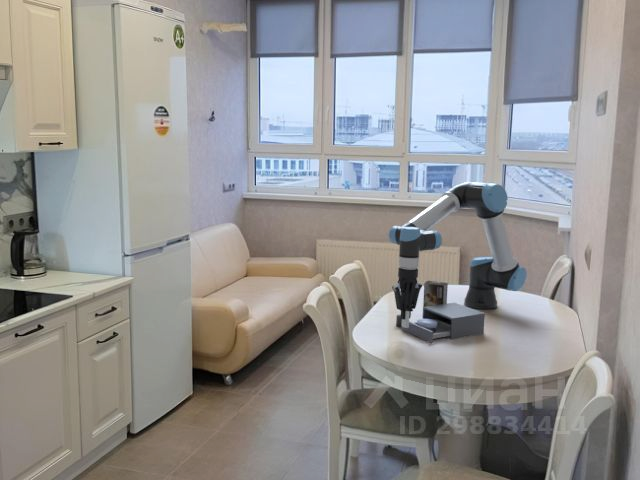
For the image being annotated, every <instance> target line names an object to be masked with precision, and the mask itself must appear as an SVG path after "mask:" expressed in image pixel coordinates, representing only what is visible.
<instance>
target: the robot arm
mask: <svg viewBox="0 0 640 480" xmlns="http://www.w3.org/2000/svg"><path fill="white" fill-rule="evenodd" d="M507 204H508V192H507V190H506V189H505V188H504V187H503V186H502V185H501V184H498V183H494V182H480V181H478V182H477V181H465V182H461V183H459V184H457V185H455V186H452V187H451V188H449V189H448V190H446V191H445V192H444V193H442V195H441V198H439V199H438V200H437V201H435V202H433V203H432V204H431V205H429V206H428V207H426V208H425V209H423V211H421V212H419V213H418V214H417V215H415V216H414V217H412V218H411V219H409V220H408V221H407V222H406V223H404V224H403V225H394V226H392V227H391V228H390V229H389V232H388V239H389V241H390V242H391V243H392V244H395V245H398V246H399V251H398V253H399V254H398V266H399V267H398V269H397V270H398V271H397V278H398V281H397V284H396V285H392V290H393V292H394V299H395V300H394V301H395V306H396V309H397V310H399V311H400V315H401V319H402V325H401V326H402V327H404V328H409V321H410V319H411V317H412V314H411V313H412V312H414V310H415V309H416V307H417V304H418V300H419V295H420V291H421V289H422V288H423V285H422V284H421V283H419V282H418V277H419V269H418V268H419V266H420V265H419V264H420V262H419V261H420V252H425V251H434V250H436V249H439V248H440V247H441V246H442V245H443V244H442V243H443V237H442V235H441V233H440V232H439V231H438V230H431V229H430V228H432V227H434V226H435V225H436V224H437V223H439V222H440V221H441V220H443V219H444V218H445V217H447V216H448V215H450V214H451V213H456V212H458V211H460V210H461V209H471V210H475V212H476V216H477V218H479V219H481V221H482V225H483V229H484V231H485V235H486V238H487V243H488V245H489V248H490V249H489V250H490V252H491V253H490V254H491V256H479V257H474V258H472V259H471V261H470V266H469V283H468V284H469V285H468V290H467V292H466V296H465V298H464V301H463V302H464V304H463V305H464V306H466V307H469V308H471V309H476V310H477V309H478V310H493V309H497V307H498V300H497V298H496V297H497V296H496V293H495V292H496V291H495V288H498V289H500V290H501V289H502V290H506V291H509V292H511V291H512V292H517V291H519V290H522V289H521V288H523V286H524V285H525V283H526V281H527V276H528V275H527V268H525V267H524V266H523V265H521V266H520V264H519V263H520V262H519V260H518V258H516V257H515V256H513V251H512V248H511V244H510V239H509V237H508V232H507V229H506V225H505V224H506V223H505V221H504V217H503V213H504V211H505V209H506V207H507ZM402 327H401V328H402Z"/></svg>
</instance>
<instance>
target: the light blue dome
mask: <svg viewBox="0 0 640 480" xmlns="http://www.w3.org/2000/svg"><path fill="white" fill-rule="evenodd" d="M416 322H417V325H419V326H421V327H424V328H436V327H437V324H438V322H437V321H436V320H432V319H423V318H419V319H417V320H416Z"/></svg>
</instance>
